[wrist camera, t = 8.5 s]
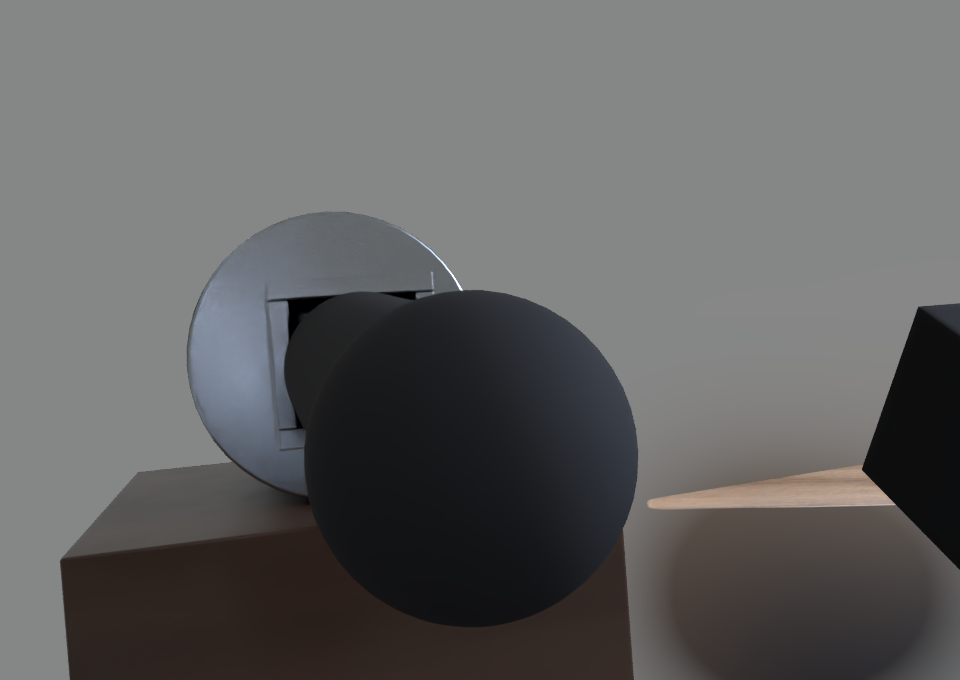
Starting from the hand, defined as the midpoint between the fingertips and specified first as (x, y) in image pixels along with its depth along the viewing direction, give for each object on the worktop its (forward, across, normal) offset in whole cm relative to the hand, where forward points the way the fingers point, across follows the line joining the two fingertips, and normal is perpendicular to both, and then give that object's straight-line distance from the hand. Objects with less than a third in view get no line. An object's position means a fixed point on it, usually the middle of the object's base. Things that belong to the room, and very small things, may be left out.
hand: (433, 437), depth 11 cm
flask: (+11, 0, -10) cm, 15 cm away
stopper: (+2, 0, -1) cm, 3 cm away
